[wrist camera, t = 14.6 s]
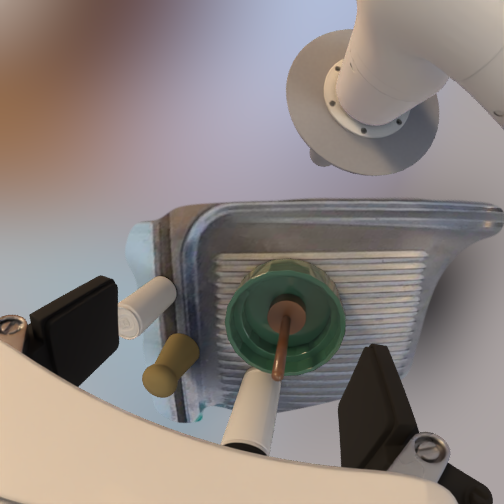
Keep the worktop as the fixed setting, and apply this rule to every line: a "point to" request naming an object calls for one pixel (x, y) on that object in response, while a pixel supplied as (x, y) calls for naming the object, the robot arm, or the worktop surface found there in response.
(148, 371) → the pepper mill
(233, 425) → the travel mug
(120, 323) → the beverage can
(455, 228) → the worktop surface
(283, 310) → the brown rod with base
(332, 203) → the worktop surface
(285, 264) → the bowl
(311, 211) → the worktop surface
